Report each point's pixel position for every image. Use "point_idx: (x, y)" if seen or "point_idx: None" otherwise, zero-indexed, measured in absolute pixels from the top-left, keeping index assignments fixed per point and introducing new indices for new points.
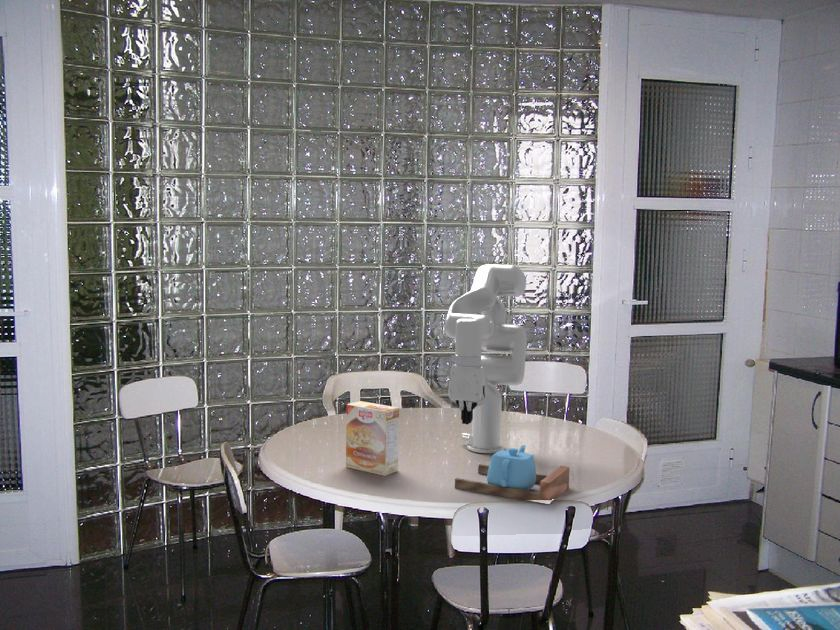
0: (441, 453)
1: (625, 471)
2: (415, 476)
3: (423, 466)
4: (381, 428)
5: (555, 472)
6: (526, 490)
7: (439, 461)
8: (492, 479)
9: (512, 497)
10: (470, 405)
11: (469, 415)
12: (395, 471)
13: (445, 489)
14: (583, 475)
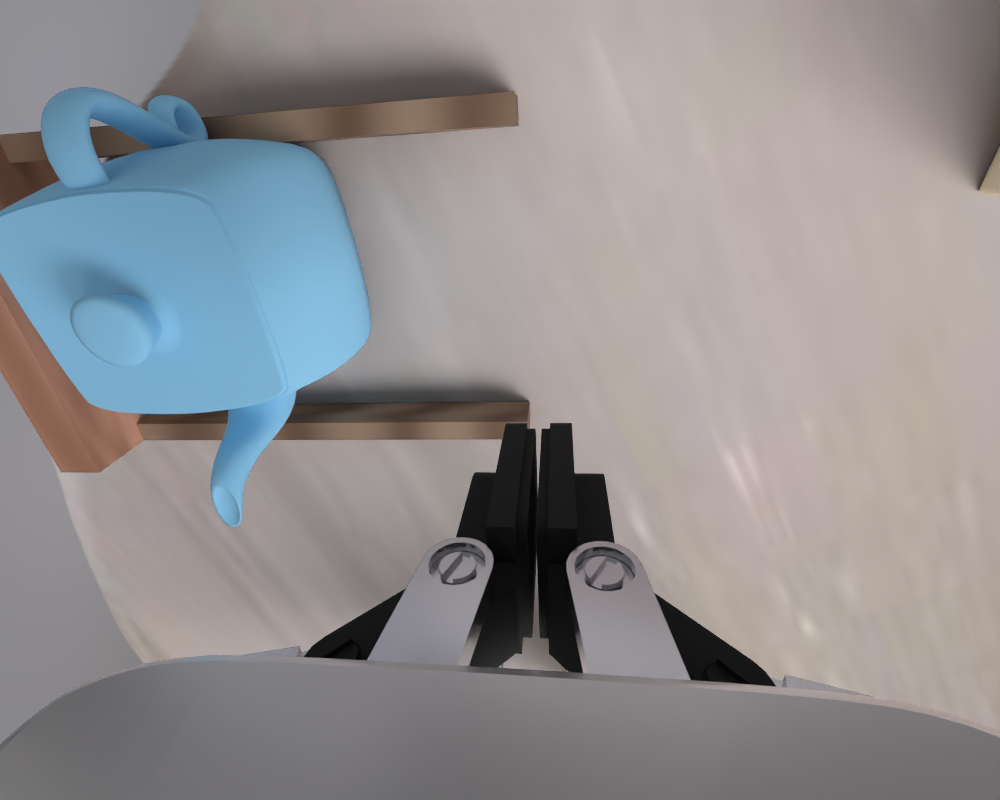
0: (803, 566)
1: (150, 643)
2: (827, 155)
3: (833, 357)
4: None
5: (21, 357)
6: None
7: (774, 466)
8: (265, 142)
9: None
10: (407, 621)
11: (479, 512)
12: (993, 160)
13: (550, 20)
14: (204, 563)
